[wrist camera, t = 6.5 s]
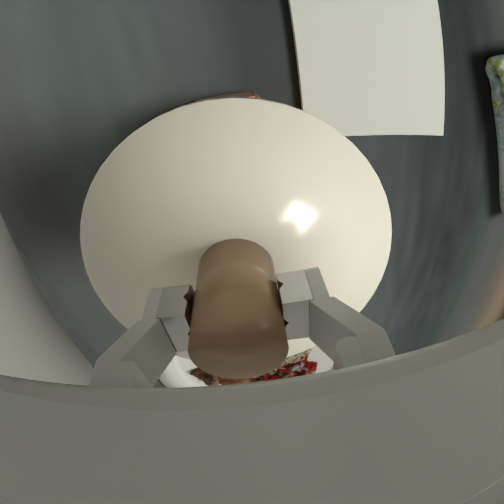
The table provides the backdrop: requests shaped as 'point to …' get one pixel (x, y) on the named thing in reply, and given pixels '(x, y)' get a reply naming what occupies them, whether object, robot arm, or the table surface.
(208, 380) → the plated food
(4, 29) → the table surface
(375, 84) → the mat
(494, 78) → the towel
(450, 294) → the table surface
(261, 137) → the lid
